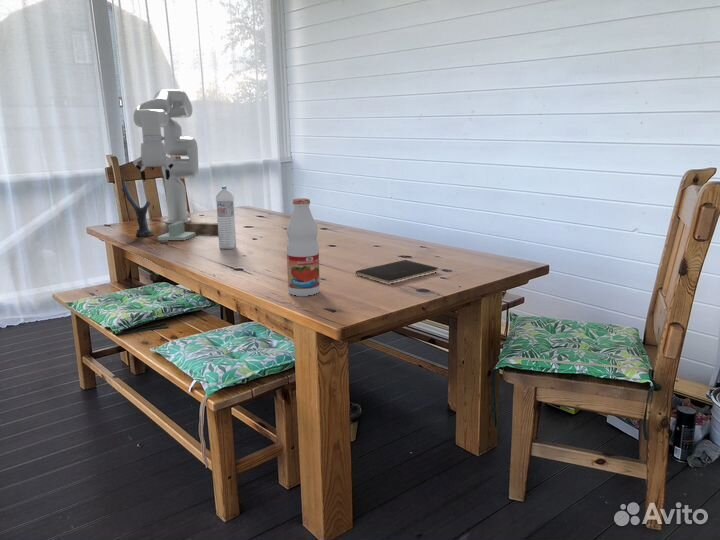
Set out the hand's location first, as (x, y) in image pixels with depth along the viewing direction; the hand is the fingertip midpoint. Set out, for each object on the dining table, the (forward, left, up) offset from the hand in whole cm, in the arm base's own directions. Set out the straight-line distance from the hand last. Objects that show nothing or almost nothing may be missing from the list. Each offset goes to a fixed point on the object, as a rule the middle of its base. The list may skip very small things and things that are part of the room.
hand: (155, 179), depth 252 cm
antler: (-1, -10, -25) cm, 27 cm away
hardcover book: (+51, +109, -26) cm, 123 cm away
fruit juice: (+76, +83, -25) cm, 115 cm away
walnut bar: (-10, +16, -26) cm, 32 cm away
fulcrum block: (+1, +8, -25) cm, 26 cm away
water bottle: (+19, +38, -25) cm, 49 cm away
